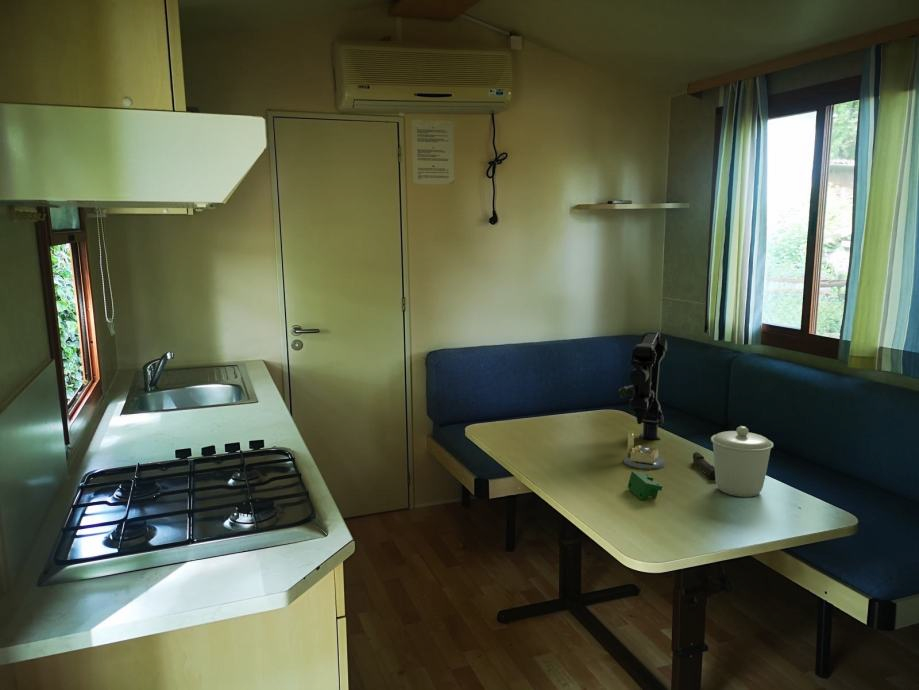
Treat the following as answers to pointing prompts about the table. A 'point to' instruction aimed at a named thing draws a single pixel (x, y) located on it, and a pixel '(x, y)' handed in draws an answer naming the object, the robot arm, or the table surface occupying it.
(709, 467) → the dark brown log
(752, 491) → the canister
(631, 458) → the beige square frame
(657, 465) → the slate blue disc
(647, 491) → the green mounting bracket
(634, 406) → the robot arm
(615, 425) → the table surface
